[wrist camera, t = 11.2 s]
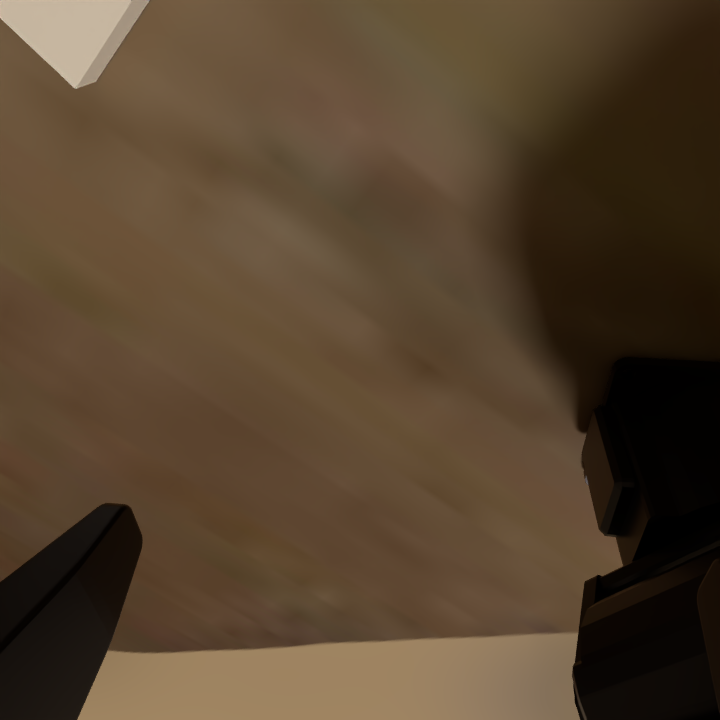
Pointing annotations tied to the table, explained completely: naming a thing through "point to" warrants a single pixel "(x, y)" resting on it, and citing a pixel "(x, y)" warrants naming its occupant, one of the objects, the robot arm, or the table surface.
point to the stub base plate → (73, 32)
